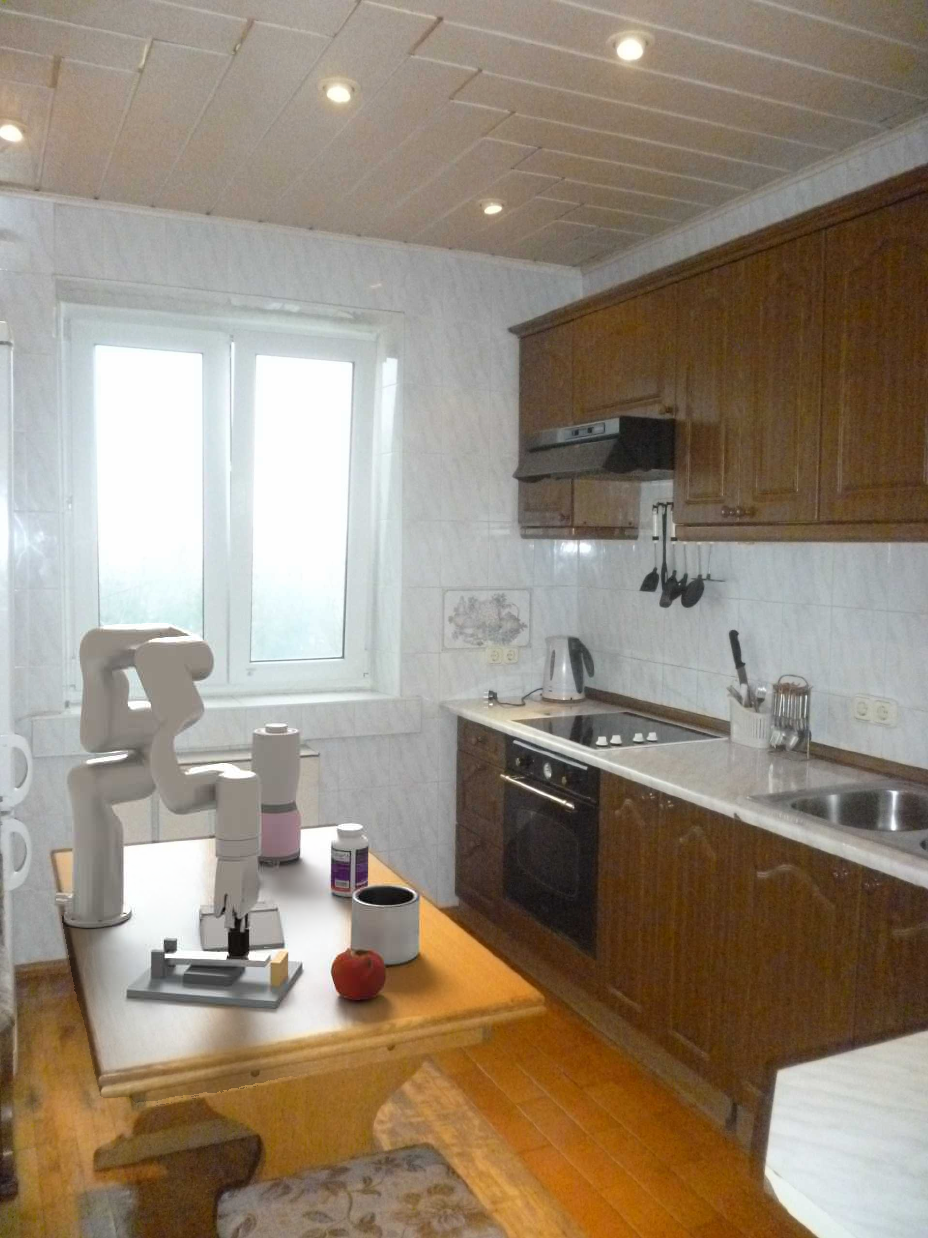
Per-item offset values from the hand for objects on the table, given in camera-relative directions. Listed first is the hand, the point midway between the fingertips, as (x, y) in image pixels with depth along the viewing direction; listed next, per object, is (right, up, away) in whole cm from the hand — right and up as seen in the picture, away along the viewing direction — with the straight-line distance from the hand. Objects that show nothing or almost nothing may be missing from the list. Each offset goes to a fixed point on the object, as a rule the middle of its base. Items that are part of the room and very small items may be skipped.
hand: (238, 953), depth 175 cm
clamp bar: (-4, -2, +1) cm, 5 cm away
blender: (-6, -1, +72) cm, 72 cm away
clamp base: (-4, -5, +1) cm, 7 cm away
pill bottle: (+13, -3, +49) cm, 50 cm away
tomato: (+20, -7, -3) cm, 22 cm away
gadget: (-5, -4, +27) cm, 27 cm away
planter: (+23, -5, +15) cm, 28 cm away
